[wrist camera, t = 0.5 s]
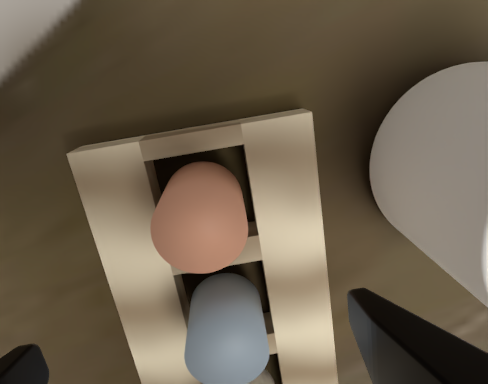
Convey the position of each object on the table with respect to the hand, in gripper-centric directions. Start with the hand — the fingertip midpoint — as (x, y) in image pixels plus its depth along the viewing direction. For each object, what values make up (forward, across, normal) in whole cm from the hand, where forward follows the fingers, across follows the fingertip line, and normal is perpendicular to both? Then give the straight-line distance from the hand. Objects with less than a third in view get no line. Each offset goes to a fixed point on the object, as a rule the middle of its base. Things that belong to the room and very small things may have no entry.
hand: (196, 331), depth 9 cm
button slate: (+10, 0, +7) cm, 12 cm away
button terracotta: (+10, 0, 0) cm, 10 cm away
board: (+12, 0, +6) cm, 14 cm away
